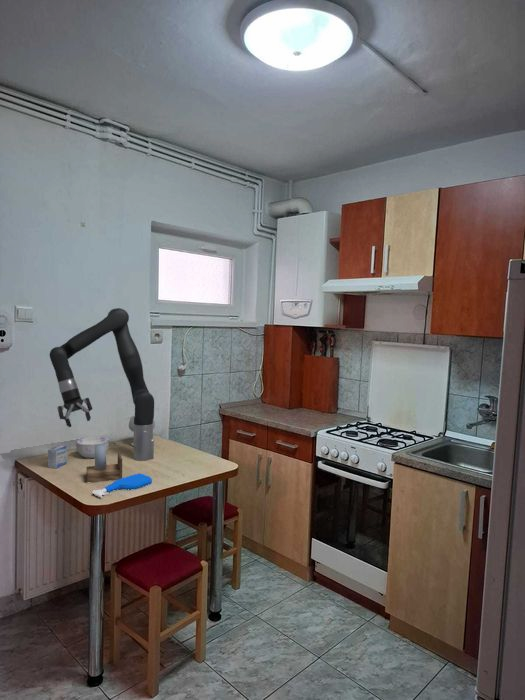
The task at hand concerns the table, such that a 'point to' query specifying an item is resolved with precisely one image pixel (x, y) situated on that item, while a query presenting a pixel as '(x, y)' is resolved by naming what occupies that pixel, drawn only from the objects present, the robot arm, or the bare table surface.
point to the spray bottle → (125, 484)
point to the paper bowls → (90, 445)
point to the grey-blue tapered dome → (100, 457)
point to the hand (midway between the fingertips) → (79, 423)
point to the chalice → (131, 426)
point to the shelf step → (105, 472)
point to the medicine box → (57, 456)
